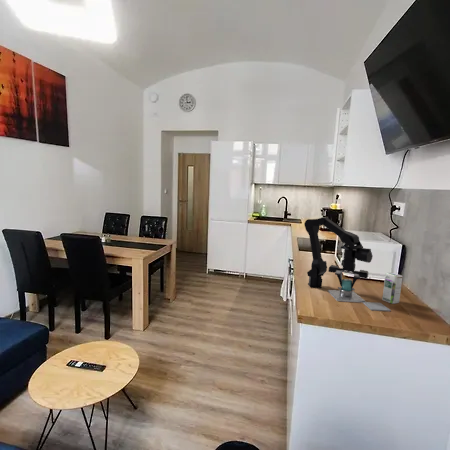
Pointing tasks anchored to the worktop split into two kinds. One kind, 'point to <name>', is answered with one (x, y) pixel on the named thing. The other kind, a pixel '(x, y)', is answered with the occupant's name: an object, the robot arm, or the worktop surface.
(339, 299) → the grey square plate
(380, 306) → the coaster
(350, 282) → the teal cylinder
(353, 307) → the worktop surface
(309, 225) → the robot arm
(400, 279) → the syrup box
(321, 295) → the worktop surface
